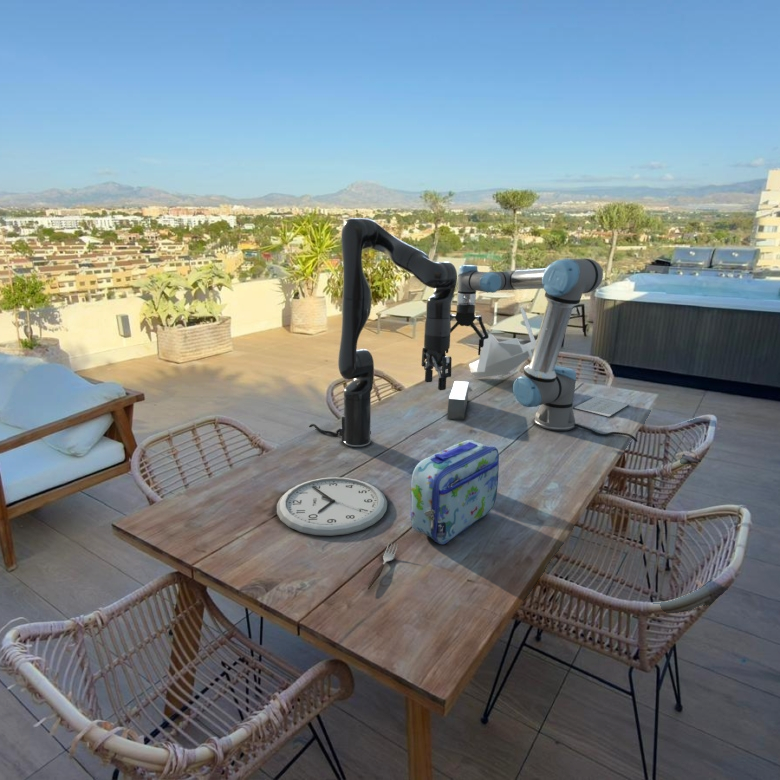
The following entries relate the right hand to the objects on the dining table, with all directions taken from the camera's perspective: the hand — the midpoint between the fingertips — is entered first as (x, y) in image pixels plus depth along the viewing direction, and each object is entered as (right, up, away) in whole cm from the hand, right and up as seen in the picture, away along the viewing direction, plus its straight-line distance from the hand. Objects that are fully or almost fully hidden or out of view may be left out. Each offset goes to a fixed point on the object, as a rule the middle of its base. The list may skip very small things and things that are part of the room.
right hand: (463, 353), depth 223 cm
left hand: (-18, -14, -66) cm, 69 cm away
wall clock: (-47, -47, -80) cm, 104 cm away
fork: (-33, -56, -106) cm, 124 cm away
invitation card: (+60, -23, +4) cm, 65 cm away
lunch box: (-15, -50, -88) cm, 103 cm away
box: (-2, -24, -2) cm, 24 cm away
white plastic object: (+27, -13, +33) cm, 45 cm away
